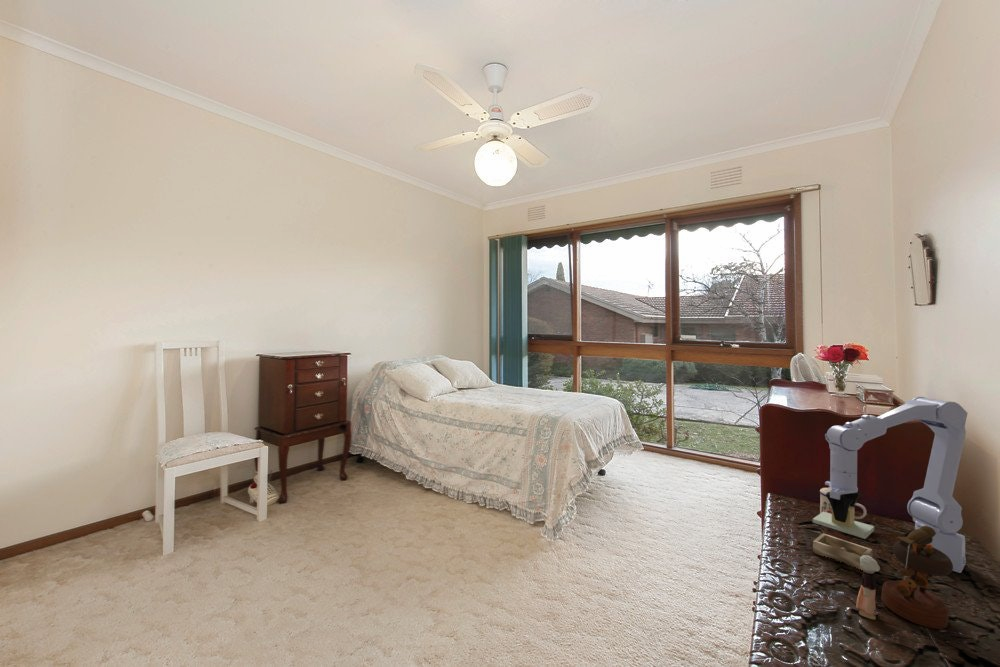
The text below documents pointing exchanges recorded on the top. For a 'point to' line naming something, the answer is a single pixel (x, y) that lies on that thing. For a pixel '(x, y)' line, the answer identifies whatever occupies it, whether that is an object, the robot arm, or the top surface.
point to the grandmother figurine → (867, 587)
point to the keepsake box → (840, 550)
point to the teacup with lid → (827, 507)
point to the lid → (845, 524)
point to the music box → (918, 580)
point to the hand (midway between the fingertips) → (842, 518)
